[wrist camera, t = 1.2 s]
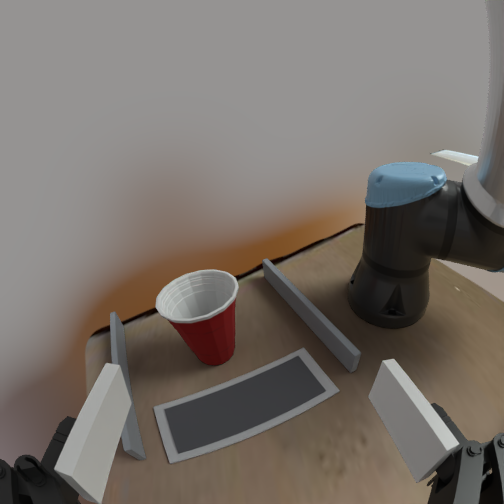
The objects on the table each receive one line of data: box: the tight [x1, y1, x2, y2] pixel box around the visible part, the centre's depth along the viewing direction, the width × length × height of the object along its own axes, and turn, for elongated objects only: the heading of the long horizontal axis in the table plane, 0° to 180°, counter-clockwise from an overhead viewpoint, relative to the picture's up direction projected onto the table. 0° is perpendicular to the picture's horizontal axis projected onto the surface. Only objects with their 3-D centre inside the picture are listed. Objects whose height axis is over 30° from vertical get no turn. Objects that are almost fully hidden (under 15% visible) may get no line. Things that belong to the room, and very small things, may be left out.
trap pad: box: [154, 347, 339, 464], centre depth 30 cm, size 23×9×1 cm, turn 114°
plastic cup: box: [156, 270, 239, 365], centre depth 36 cm, size 11×11×12 cm
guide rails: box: [110, 259, 361, 460], centre depth 37 cm, size 31×26×4 cm
